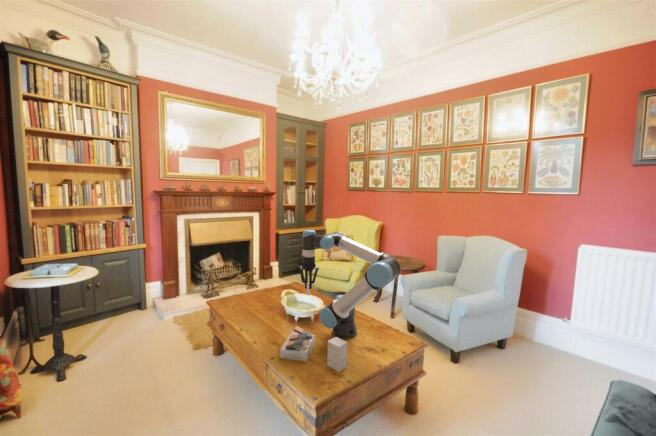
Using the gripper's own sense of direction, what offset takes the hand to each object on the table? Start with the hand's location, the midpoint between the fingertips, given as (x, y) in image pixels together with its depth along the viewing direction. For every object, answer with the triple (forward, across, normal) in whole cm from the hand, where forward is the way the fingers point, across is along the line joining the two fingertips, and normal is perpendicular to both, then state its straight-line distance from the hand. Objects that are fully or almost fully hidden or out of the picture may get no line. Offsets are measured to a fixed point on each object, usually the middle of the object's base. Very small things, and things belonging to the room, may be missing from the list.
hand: (308, 294), depth 176 cm
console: (+24, 0, +20) cm, 32 cm away
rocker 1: (+18, 0, +14) cm, 23 cm away
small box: (+25, -23, +29) cm, 44 cm away
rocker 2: (+18, 0, +20) cm, 27 cm away
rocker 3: (+18, 0, +26) cm, 32 cm away
